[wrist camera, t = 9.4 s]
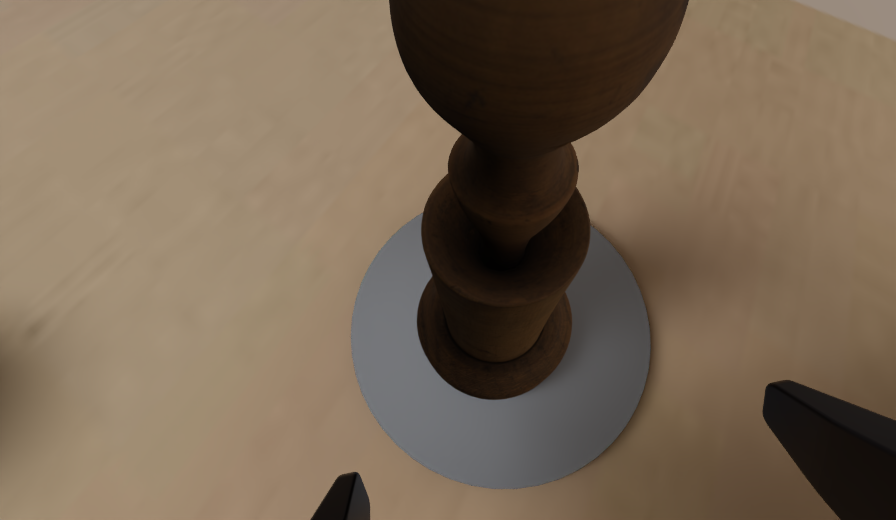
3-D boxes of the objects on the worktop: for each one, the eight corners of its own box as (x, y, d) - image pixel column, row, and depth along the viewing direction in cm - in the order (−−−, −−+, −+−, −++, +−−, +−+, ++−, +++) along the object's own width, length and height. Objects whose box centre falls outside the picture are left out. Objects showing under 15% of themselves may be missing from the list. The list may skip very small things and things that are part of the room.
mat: (699, 308, 21) (709, 303, 20) (523, 564, 17) (525, 572, 16) (475, 158, 25) (475, 148, 24) (300, 344, 21) (291, 341, 20)
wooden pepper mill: (532, 246, 21) (725, -403, 5) (587, 372, 19) (1398, -11, 2) (406, 287, 21) (116, -248, 4) (445, 420, 19) (144, 400, 2)
